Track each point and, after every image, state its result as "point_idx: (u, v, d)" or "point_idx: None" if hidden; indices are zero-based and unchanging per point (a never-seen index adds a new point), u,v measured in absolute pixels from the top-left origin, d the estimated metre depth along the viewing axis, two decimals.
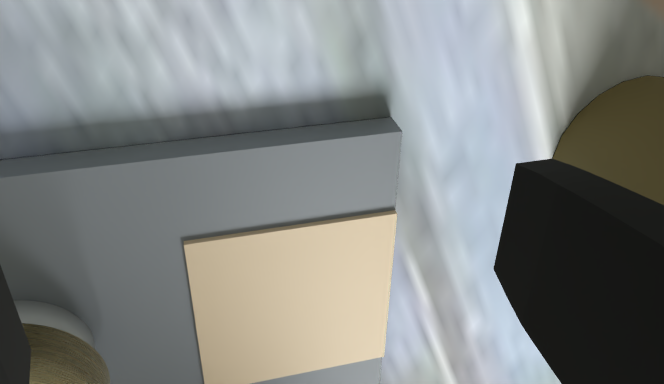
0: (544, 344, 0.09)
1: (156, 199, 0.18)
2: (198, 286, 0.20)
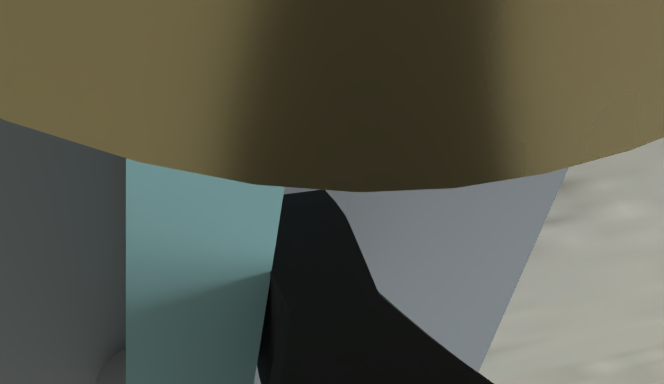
0: None
1: None
2: None
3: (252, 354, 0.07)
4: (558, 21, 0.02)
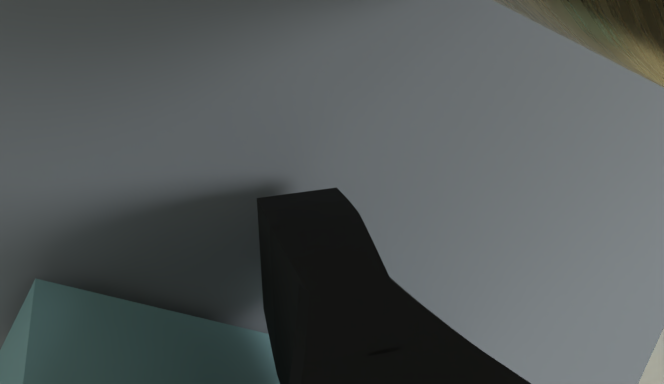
0: None
1: None
2: None
3: None
4: None
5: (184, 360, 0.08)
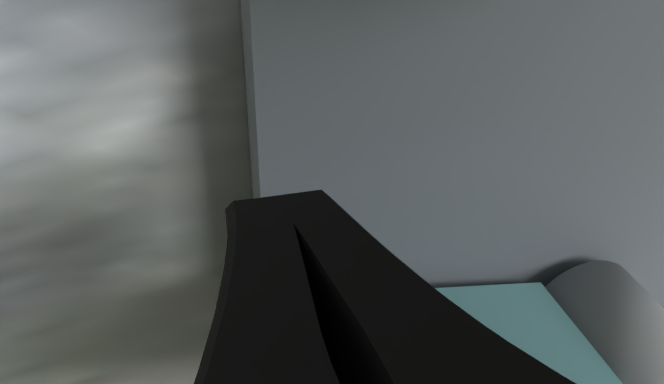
0: None
1: None
2: None
3: None
4: None
5: None
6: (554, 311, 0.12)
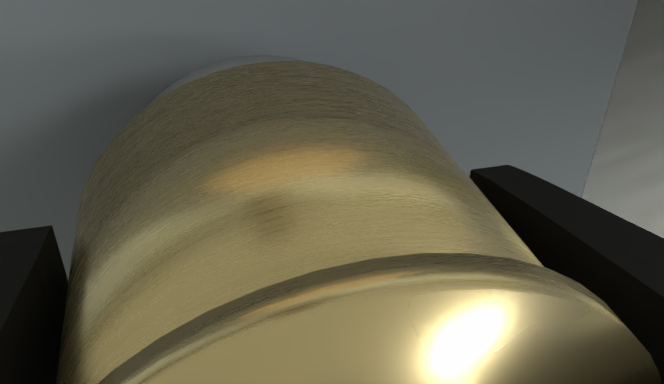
0: None
1: None
2: None
3: None
4: None
5: None
6: None
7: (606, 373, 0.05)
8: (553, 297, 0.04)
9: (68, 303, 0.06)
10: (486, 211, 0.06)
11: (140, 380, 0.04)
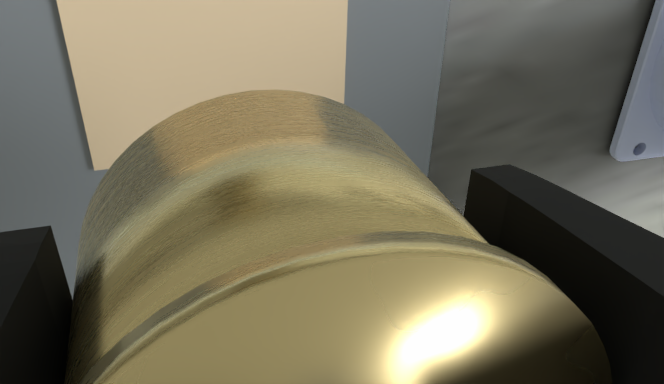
0: None
1: (34, 192, 0.17)
2: None
3: None
4: None
5: None
6: None
7: (553, 340, 0.06)
8: (497, 266, 0.05)
9: (75, 307, 0.07)
10: (446, 208, 0.07)
11: (144, 343, 0.05)
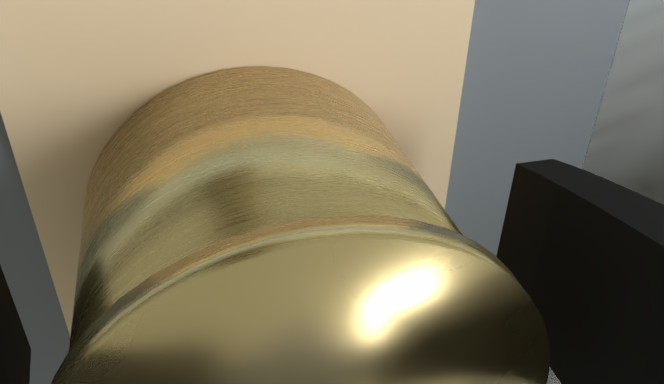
0: None
1: None
2: None
3: None
4: None
5: None
6: None
7: (495, 310, 0.07)
8: (444, 247, 0.06)
9: (81, 263, 0.08)
10: (414, 188, 0.07)
11: (139, 303, 0.05)
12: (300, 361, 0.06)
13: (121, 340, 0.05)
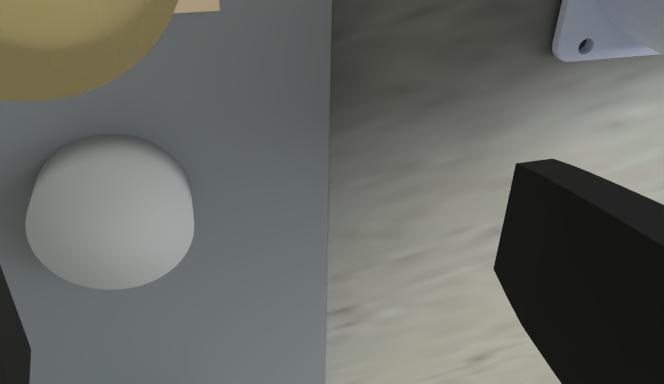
0: (544, 344, 0.09)
1: None
2: None
3: None
4: (63, 65, 0.11)
5: None
6: None
7: None
8: None
9: None
10: None
11: None
12: None
13: None
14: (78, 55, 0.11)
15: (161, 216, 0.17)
